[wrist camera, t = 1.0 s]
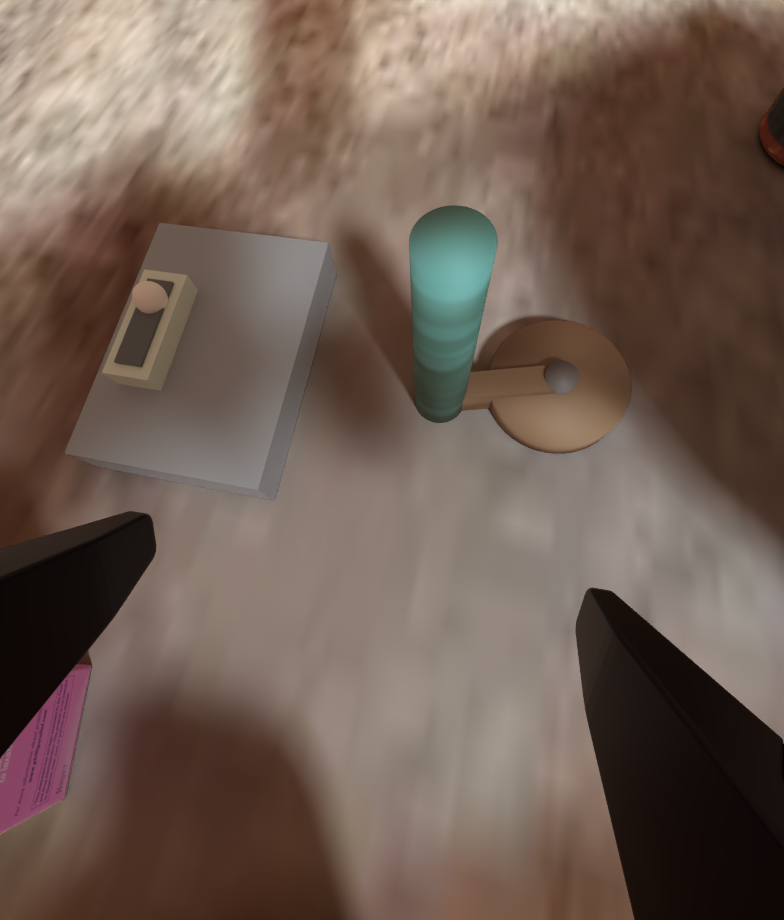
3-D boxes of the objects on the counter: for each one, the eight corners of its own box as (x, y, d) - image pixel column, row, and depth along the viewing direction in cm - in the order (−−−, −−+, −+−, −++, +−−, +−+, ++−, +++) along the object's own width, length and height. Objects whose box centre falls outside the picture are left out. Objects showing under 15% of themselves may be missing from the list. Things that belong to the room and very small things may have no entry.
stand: (274, 500, 24) (238, 477, 19) (99, 467, 25) (24, 437, 20) (336, 273, 27) (319, 208, 23) (181, 253, 28) (135, 188, 24)
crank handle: (616, 464, 23) (795, 342, 12) (409, 429, 24) (397, 291, 13) (625, 342, 25) (786, 139, 14) (431, 315, 26) (438, 110, 15)
